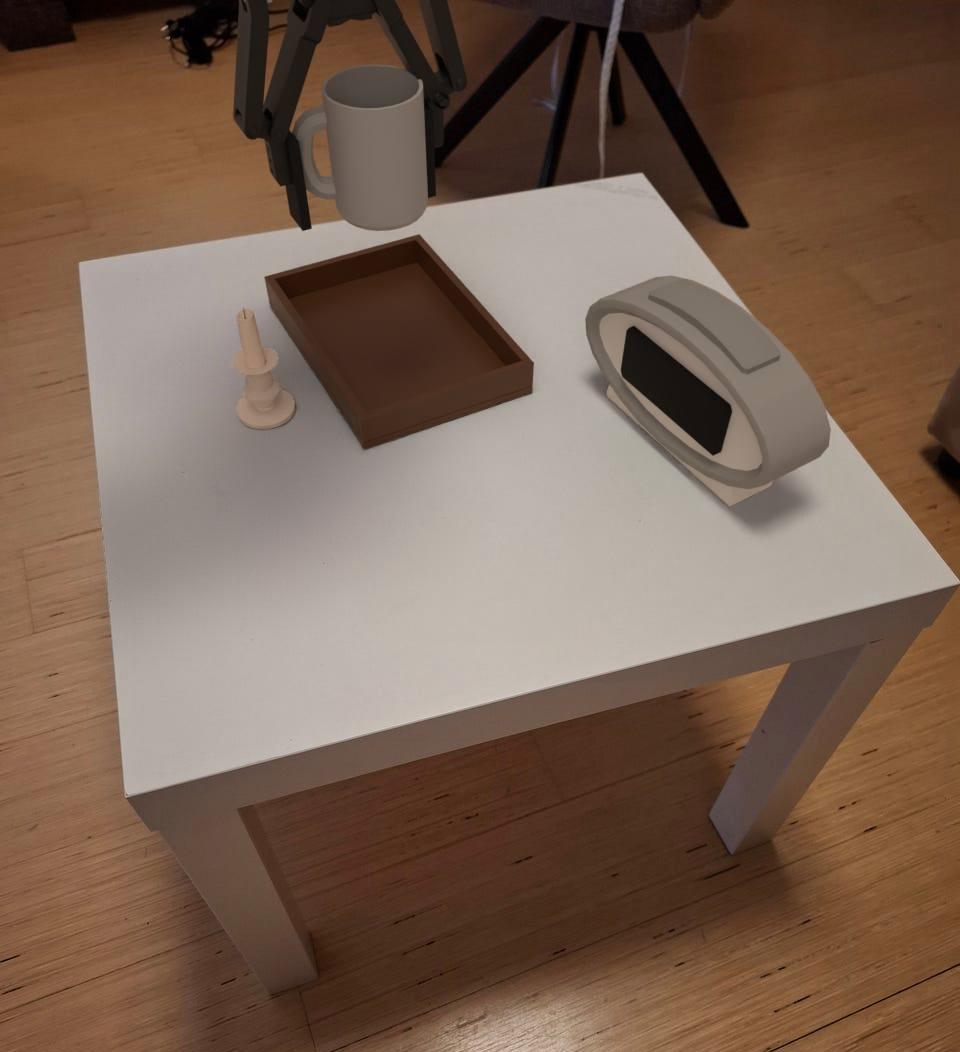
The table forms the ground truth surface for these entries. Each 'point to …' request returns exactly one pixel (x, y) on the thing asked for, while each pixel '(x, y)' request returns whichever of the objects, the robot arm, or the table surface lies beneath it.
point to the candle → (259, 380)
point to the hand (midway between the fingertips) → (363, 205)
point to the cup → (369, 146)
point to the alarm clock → (708, 384)
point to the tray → (397, 339)
